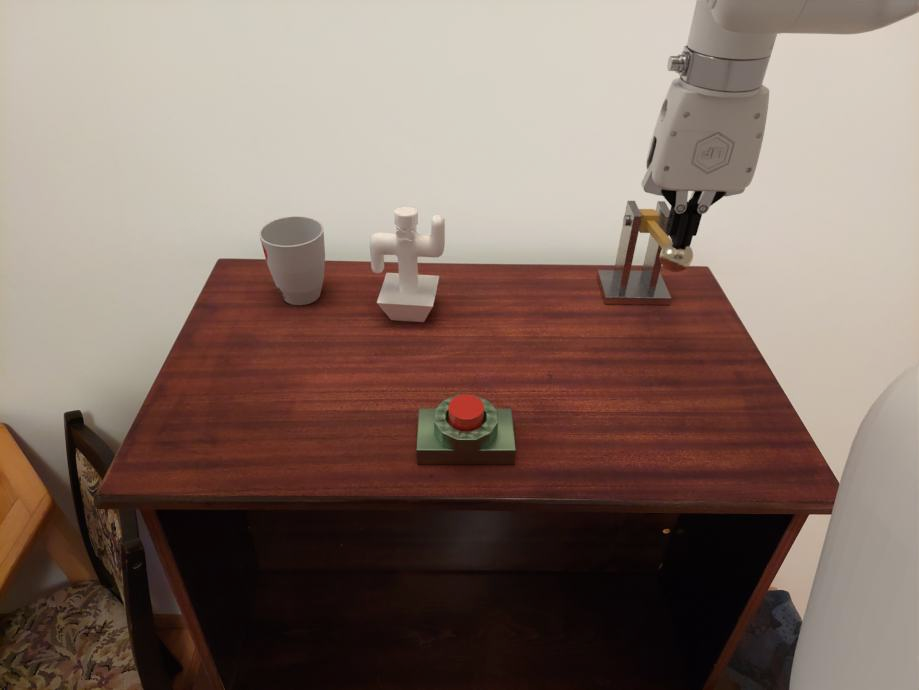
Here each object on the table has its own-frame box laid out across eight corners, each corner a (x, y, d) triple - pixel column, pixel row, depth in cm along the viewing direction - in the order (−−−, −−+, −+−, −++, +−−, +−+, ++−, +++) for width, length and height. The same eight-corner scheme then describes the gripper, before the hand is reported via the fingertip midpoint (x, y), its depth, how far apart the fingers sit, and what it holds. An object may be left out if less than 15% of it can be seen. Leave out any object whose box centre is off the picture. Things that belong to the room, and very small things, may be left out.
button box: (510, 421, 71) (512, 394, 68) (514, 466, 66) (517, 439, 63) (419, 420, 71) (418, 394, 68) (416, 466, 66) (415, 439, 63)
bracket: (669, 305, 89) (691, 221, 81) (604, 304, 89) (620, 220, 81) (657, 277, 94) (677, 196, 86) (596, 276, 94) (610, 195, 86)
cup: (286, 276, 93) (275, 213, 87) (340, 282, 92) (332, 219, 86) (262, 307, 87) (248, 242, 81) (319, 315, 86) (309, 249, 80)
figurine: (380, 294, 90) (372, 194, 80) (447, 298, 89) (447, 198, 80) (370, 325, 84) (360, 222, 75) (441, 330, 84) (441, 226, 74)
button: (482, 406, 67) (483, 394, 66) (484, 431, 65) (484, 419, 64) (448, 406, 67) (448, 394, 66) (448, 431, 65) (448, 419, 63)
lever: (694, 277, 73) (700, 246, 71) (662, 276, 73) (667, 246, 71) (655, 230, 87) (660, 204, 85) (629, 230, 87) (632, 204, 85)
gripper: (653, 80, 58) (618, 256, 70) (818, 83, 58) (756, 258, 70) (635, 57, 64) (606, 223, 75) (786, 60, 64) (733, 225, 75)
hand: (678, 240), depth 72 cm, fingers closed
